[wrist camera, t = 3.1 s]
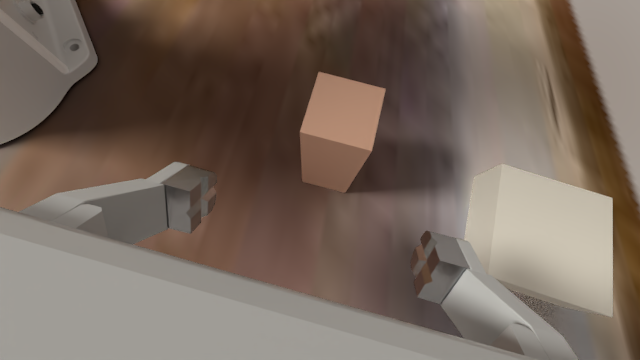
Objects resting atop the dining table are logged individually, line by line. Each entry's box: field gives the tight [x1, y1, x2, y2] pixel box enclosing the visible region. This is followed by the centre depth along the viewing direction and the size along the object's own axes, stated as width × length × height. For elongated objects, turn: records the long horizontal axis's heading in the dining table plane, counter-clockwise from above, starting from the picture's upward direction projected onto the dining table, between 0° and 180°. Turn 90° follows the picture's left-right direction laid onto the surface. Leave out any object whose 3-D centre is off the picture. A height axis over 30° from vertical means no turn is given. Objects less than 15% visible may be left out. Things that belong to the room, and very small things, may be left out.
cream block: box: [464, 164, 613, 317], centre depth 22 cm, size 9×9×4 cm
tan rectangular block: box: [300, 72, 386, 193], centre depth 19 cm, size 4×4×10 cm
